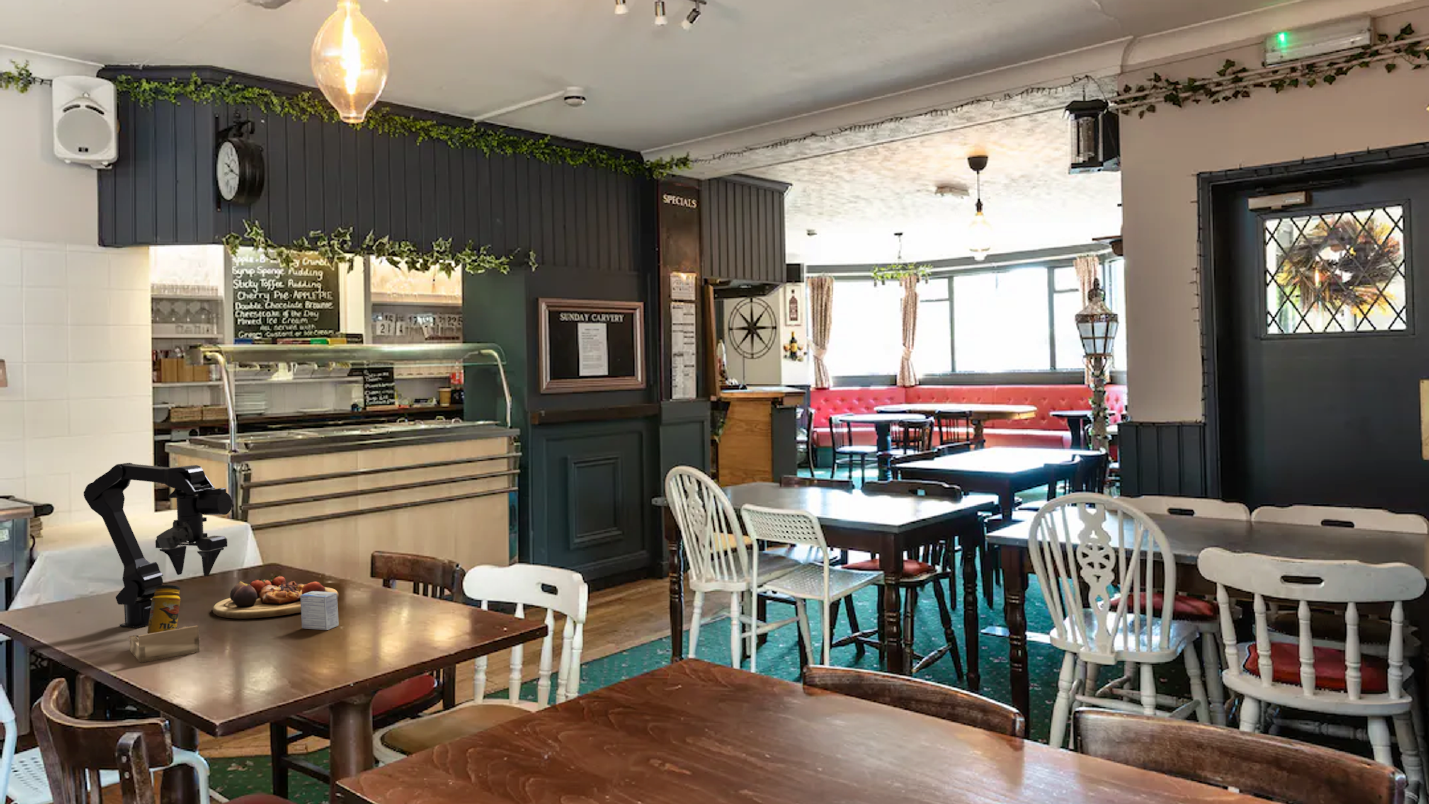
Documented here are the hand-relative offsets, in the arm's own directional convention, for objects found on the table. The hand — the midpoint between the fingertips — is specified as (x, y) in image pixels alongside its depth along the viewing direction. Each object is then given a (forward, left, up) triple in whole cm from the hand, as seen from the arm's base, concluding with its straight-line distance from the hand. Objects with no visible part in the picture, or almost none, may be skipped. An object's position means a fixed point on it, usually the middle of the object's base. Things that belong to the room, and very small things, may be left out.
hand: (192, 575), depth 251 cm
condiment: (+9, -18, -11) cm, 23 cm away
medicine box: (+34, +7, -13) cm, 37 cm away
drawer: (+13, -20, -13) cm, 27 cm away
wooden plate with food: (+4, +23, -14) cm, 27 cm away
